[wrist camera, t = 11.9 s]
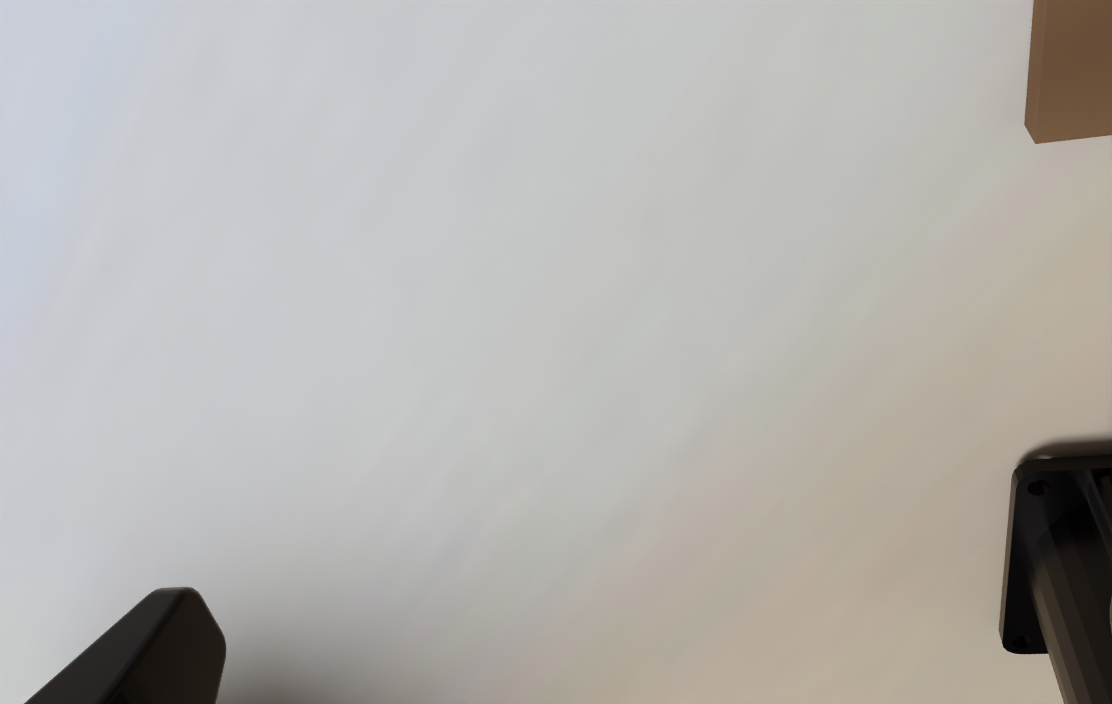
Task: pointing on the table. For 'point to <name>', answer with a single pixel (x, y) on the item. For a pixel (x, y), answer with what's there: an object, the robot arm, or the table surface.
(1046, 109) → the walnut U-rest
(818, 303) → the table surface
